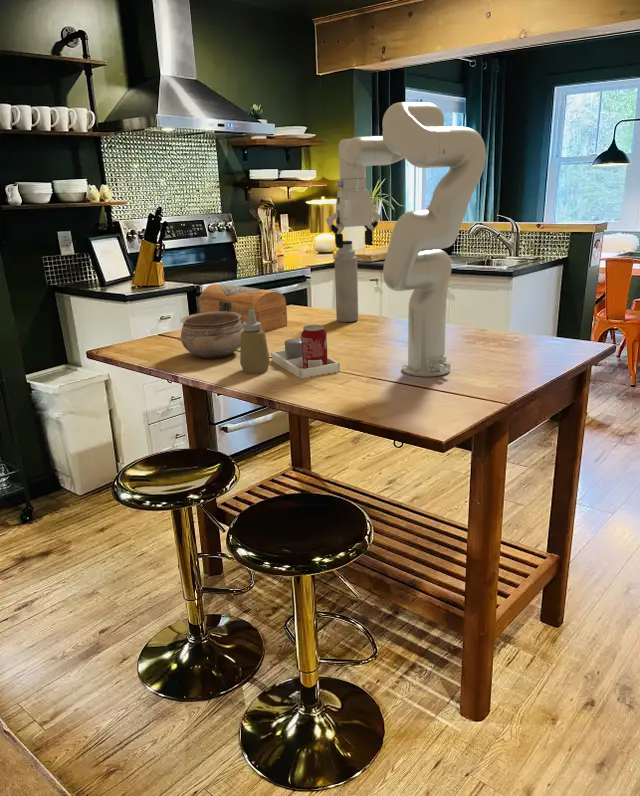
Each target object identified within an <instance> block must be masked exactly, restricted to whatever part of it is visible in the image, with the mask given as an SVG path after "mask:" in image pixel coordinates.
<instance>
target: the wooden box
mask: <svg viewBox="0 0 640 796" xmlns="http://www.w3.org/2000/svg"><path fill="white" fill-rule="evenodd" d="M198 300H199V313H204V312H215V311H227V312H235V313H238V314H240V315H241V317H240V318H239V320H240V321H245V323H247V319H248V312H249V310H253V311H254V315H255V318H256V321H257V322H260V323H261V329H260V330H263V331H264V332H265V333H266V332H269V331H274V330H277V329H281V328H284V327H287V326H288V313H287V312H288V310H287V309H288V308H287V301H286V300H287V299H286V297H285V296H284V294H283V293H282V292H278V291H275V290H269V289H260V288H256V287H248V286H240V285H229V284H220V283H214V284H213V283H212V284H210V285H208V286H207V287H205V289H204V290H203V291H201V293H200V295H199V297H198ZM242 324H243V323H242ZM244 331H245V330H244Z"/></svg>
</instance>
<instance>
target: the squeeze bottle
mask: <svg viewBox="0 0 640 796" xmlns="http://www.w3.org/2000/svg"><path fill="white" fill-rule="evenodd" d="M243 327H244V330H245V331H243V332H242V333H241V344H240V347H239V348H240V350H239V351H240V353H239V354H240V355H239V357H240V358H239V359H240V361H239V362H240V363H239V364H240V366H241V368H242V370H243V372H244V373H245V374H248V375H249V374H250V375H258V374H264V373H266V372H267V371H268V369H269V365H270V361H271V360H270V353H269V348H268V341H267V338H266V337H267V336H266V332H264V331H263V330H260V329H261V323H260V322H257V321H256V318H255V315H254V311H253V310H249V312H248V319H247V323H244V324H243Z"/></svg>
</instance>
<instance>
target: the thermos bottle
mask: <svg viewBox="0 0 640 796" xmlns="http://www.w3.org/2000/svg"><path fill="white" fill-rule="evenodd" d="M335 255H336V257H334V282H335V308H336V309H335V312H336V313H335V315H336V317H335V318H336V321H338V322H345V323H348V322H350V323H351V322H355V321H358V320H359V293H358V292H359V290H358V289H359V288H358V286H359V285H358V284H359V283H358V280H359V279H358V256H356V250H354V249H353V241H352V240H343V248H338V249H337V250H336V253H335Z"/></svg>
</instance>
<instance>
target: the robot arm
mask: <svg viewBox="0 0 640 796" xmlns="http://www.w3.org/2000/svg"><path fill="white" fill-rule="evenodd" d="M444 125H445V115H444V112H443V111H442V109H441V108H440V107H439V106H438V105H436V104H434V103H432V102H425V101H424V102H423V101H421V102H420V101H419V102H417V101H416V102H415V101H413V102H411V101H401V102H396V103H392V105H390V106H389V107H388V108H387V109H386V111H385V112H384V114H383V118H382V135H369V136H354V137H352V138H344V139H341V140H340V141H339V143H338V160H339V161H338V166H339V167H338V168H339V170H338V171H339V179H338V181H336V182H335V187H337V188H338V189H339V190H338V191H337V195H336V203H335V213H333V214H332V215H330V216H328V217H327V218H326V219H325V222H326V224H327V225H328V228H329V229H330V230H331V231H332V232H333V234H334V243H335V246H336V248H338V249H339V248H343V241H344V234H342V232H343V231H344V229H345V228H354V227H355V228H356V227H364V229H365V231H364V245H367V246H372V245H373V241H374V239H373V238H374V234H373V231H375V228H376V227H377V226H378V223H379V221H380V219H381V215H380V214H379V213H377V212H375V211H374V210H373V206H372V199H371V192H370V189H367V169H366V168H367V167H370V166H371V167H373V166H388V165H391V164H394V163H397V162H399V161H402V160H404V159H406V161H407V162H409V164H411V165H412V166H413V167H416V168H418V169H419V168H420V169H429V168H430V169H432V168H448V167H449V170H448V171H447V172H446V173H445V174H444V175H443V177H442V178H440V180H439V181H438V183H437V184H436V186H435V188H434V190H433V192H432V198H431V200H430V203H429V205H428V207H426V208H424V209H418V210H417V209H416V210H410V211H406V212H404V213H403V214H402V215H400V216H399V217H398V219H397V220H396V222H395V224H394V227H393V229H392V233H391V236H390V241H389V245H388V248H387V251H386V254H385V259H384V263H383V271H382V272H383V276H382V277H383V281H384V283H385V285H386V287H388V288H389V289H390V290H392V291H395V292H405V291H411V290H412V291H413V292H412V293H411V295H410V298H409V302H408V313H407V314H408V321H407V322H408V326H407V329H408V331H407V332H408V333H407V334H408V336H407V339H408V340H407V346H408V347H407V348H408V349H407V356H408V357H407V361H406V362H404V363H402V367H401V370H402V372H404V373H405V374H407V375H410V376H415V377H423V378H424V377H425V378H426V377H439V376H443V375H446V374H448V373H449V372H450V371H451V363H448V362H447V356H446V327H447V326H446V322H447V321H446V320H447V318H446V317H447V296H448V290H449V289H448V288H449V284H450V279H451V274H452V261H451V258H450V256H449V254H448V253H447V252H446V251H444V250H442V249H447V248H450V247H451V246H452V245H453V244H454V243H455V242H456V239H458V238H457V237H458V235H459V232H460V230H461V226H462V224H463V221H464V219H465V215H466V212H467V210H468V207H469V203H470V201H471V199H472V196H473V193H474V191H475V190H476V188H477V186H478V184H479V181H480V180H481V178H482V175H483V172H484V169H485V165H486V161H487V160H486V159H487V153H486V152H487V151H486V145H485V141H484V139H483V138H482V136H481V134H480V133H479V132H478V131H477V130H475V129H473V128H471V127H466V126H459V125H458V126H456V125H455V126H454V125H452V126H444ZM334 221H335V223H336V225H335V223H334Z"/></svg>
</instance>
